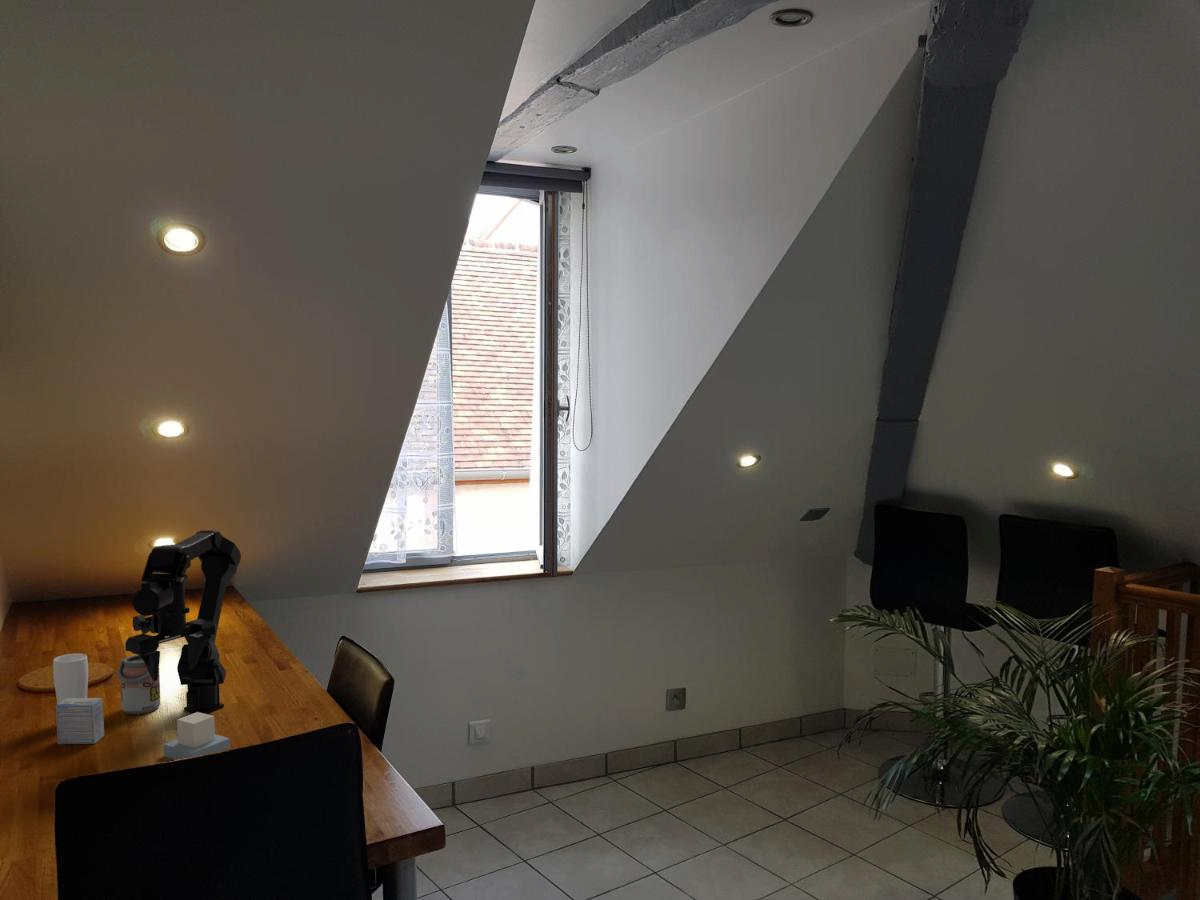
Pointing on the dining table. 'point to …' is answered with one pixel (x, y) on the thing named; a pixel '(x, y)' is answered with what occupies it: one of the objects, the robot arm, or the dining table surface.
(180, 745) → the slate block
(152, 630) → the robot arm
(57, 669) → the drinking glass
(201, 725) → the cream cube
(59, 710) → the medicine box
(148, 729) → the dining table surface
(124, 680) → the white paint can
